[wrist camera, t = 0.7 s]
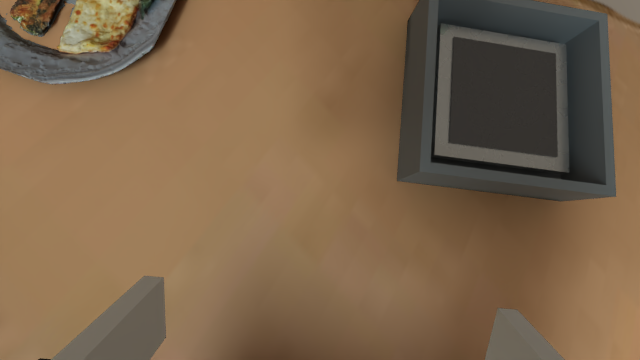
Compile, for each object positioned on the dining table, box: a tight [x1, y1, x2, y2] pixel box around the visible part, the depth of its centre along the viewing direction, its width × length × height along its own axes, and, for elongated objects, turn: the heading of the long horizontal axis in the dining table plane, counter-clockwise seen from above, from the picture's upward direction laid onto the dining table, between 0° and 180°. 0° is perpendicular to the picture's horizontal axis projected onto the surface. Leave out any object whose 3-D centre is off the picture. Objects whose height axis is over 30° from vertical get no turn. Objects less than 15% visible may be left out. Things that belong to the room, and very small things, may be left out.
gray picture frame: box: [431, 23, 569, 174], centre depth 33 cm, size 15×15×1 cm
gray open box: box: [397, 0, 616, 201], centre depth 33 cm, size 20×20×7 cm
